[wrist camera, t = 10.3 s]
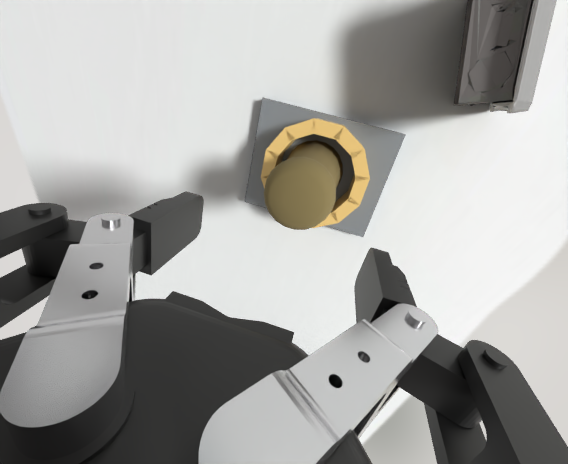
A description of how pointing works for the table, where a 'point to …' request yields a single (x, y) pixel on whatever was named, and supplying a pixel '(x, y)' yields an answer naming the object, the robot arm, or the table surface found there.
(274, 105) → the collar plate
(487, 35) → the electrical switch
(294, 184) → the cork
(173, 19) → the table surface
